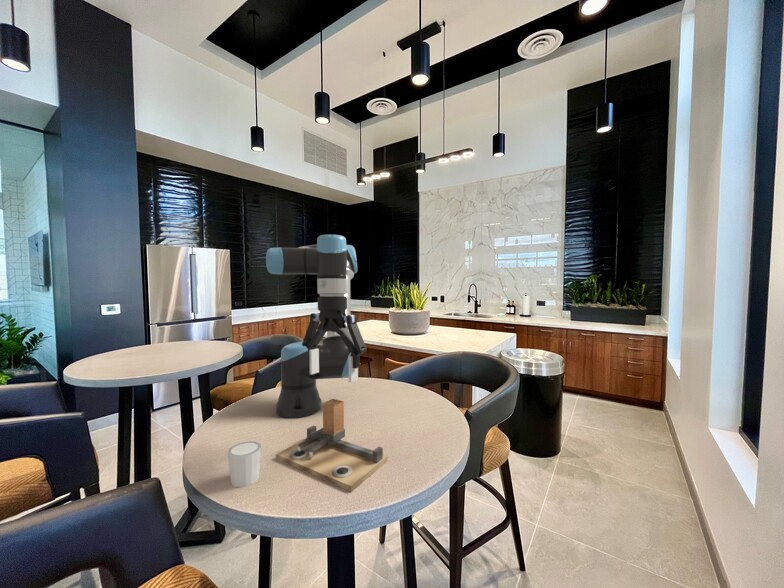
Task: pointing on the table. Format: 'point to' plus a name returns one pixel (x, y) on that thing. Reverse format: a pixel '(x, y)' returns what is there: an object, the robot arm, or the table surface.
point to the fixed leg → (310, 440)
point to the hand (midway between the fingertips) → (333, 376)
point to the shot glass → (244, 463)
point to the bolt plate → (335, 461)
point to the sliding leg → (331, 424)
